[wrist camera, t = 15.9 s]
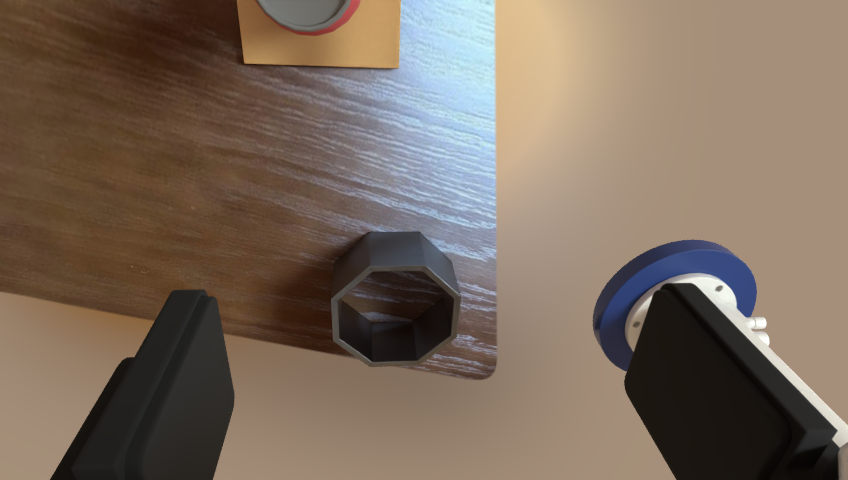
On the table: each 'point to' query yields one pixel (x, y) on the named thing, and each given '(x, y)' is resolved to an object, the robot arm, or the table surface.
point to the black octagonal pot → (394, 338)
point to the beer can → (309, 14)
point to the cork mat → (325, 38)
